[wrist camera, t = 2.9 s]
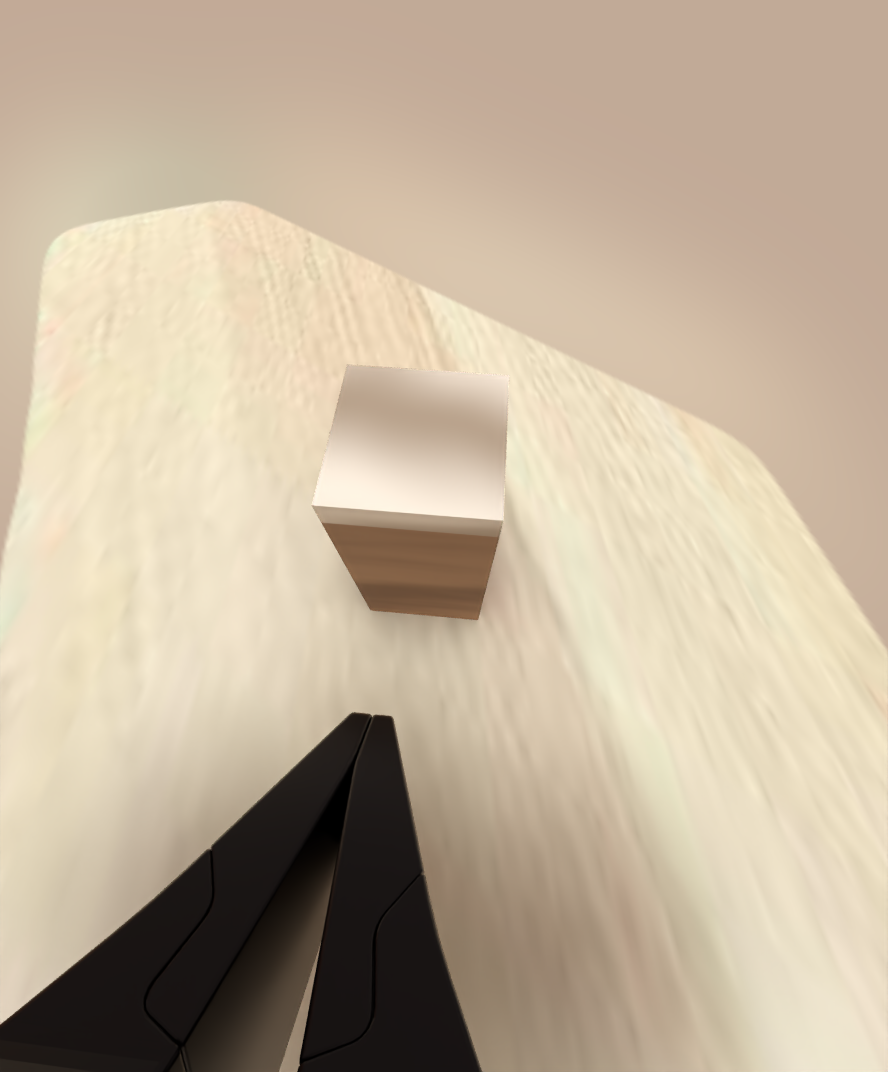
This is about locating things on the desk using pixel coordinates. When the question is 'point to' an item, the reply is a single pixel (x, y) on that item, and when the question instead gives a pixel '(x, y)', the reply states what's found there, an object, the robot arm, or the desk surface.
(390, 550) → the beige tall block
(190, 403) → the desk surface
